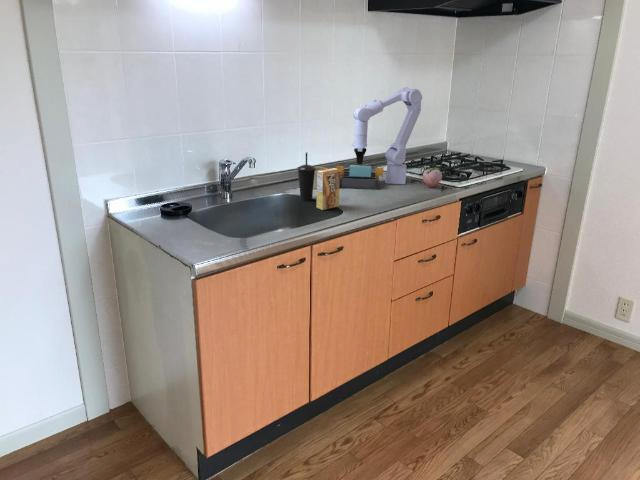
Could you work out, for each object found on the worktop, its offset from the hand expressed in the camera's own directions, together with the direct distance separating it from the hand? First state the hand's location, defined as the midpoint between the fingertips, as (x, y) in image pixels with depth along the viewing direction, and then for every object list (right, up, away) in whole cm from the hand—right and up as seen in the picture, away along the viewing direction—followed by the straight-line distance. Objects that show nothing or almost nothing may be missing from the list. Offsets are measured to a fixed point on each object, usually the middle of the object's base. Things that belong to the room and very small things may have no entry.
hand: (359, 164), depth 241 cm
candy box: (-15, -22, -31) cm, 41 cm away
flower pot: (-19, -12, -3) cm, 23 cm away
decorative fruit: (+33, -11, +1) cm, 35 cm away
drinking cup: (-24, -18, -21) cm, 37 cm away
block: (0, -8, +3) cm, 9 cm away
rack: (0, -9, +3) cm, 10 cm away
